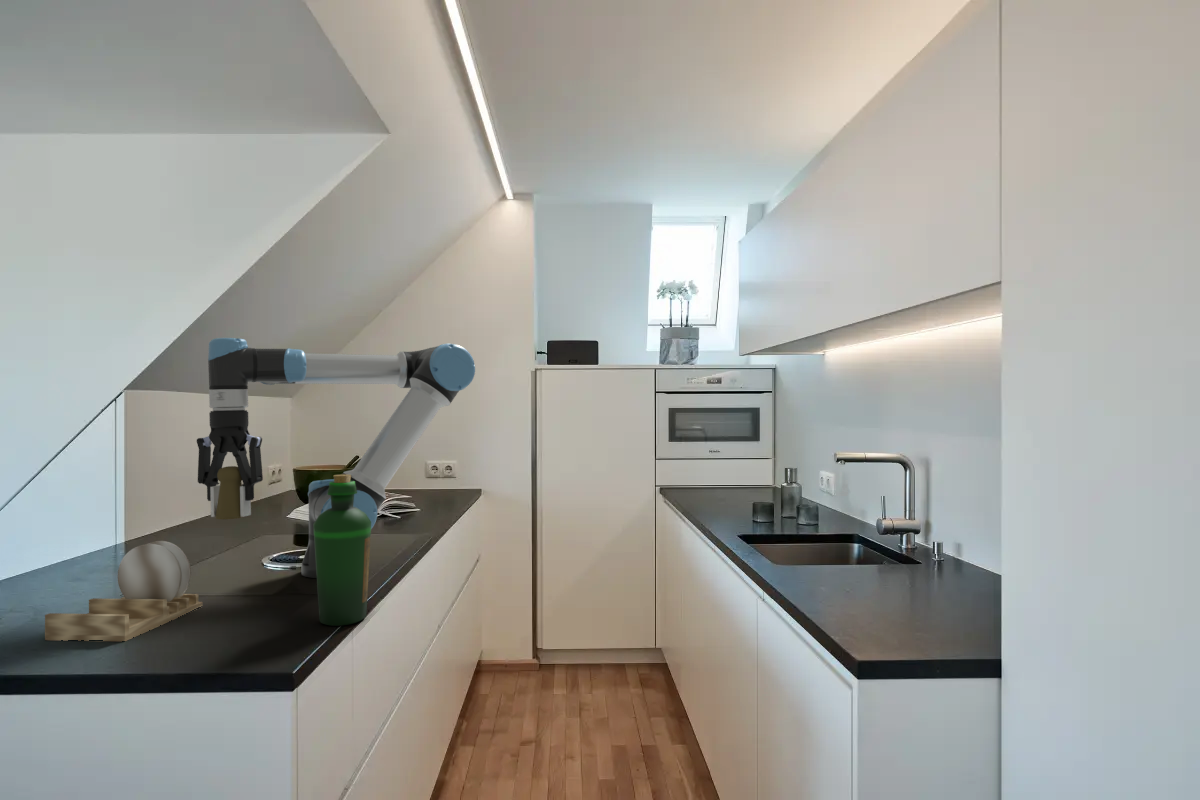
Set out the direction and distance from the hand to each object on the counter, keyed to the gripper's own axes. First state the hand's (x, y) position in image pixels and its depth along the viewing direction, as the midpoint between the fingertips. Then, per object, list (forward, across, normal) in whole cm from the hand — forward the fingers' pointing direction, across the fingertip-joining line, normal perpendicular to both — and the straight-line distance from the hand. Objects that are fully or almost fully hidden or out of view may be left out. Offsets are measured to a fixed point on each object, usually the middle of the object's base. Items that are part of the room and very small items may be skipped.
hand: (231, 515), depth 156 cm
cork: (+1, 0, 0) cm, 1 cm away
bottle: (+18, +32, -15) cm, 39 cm away
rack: (+17, -10, -18) cm, 27 cm away
